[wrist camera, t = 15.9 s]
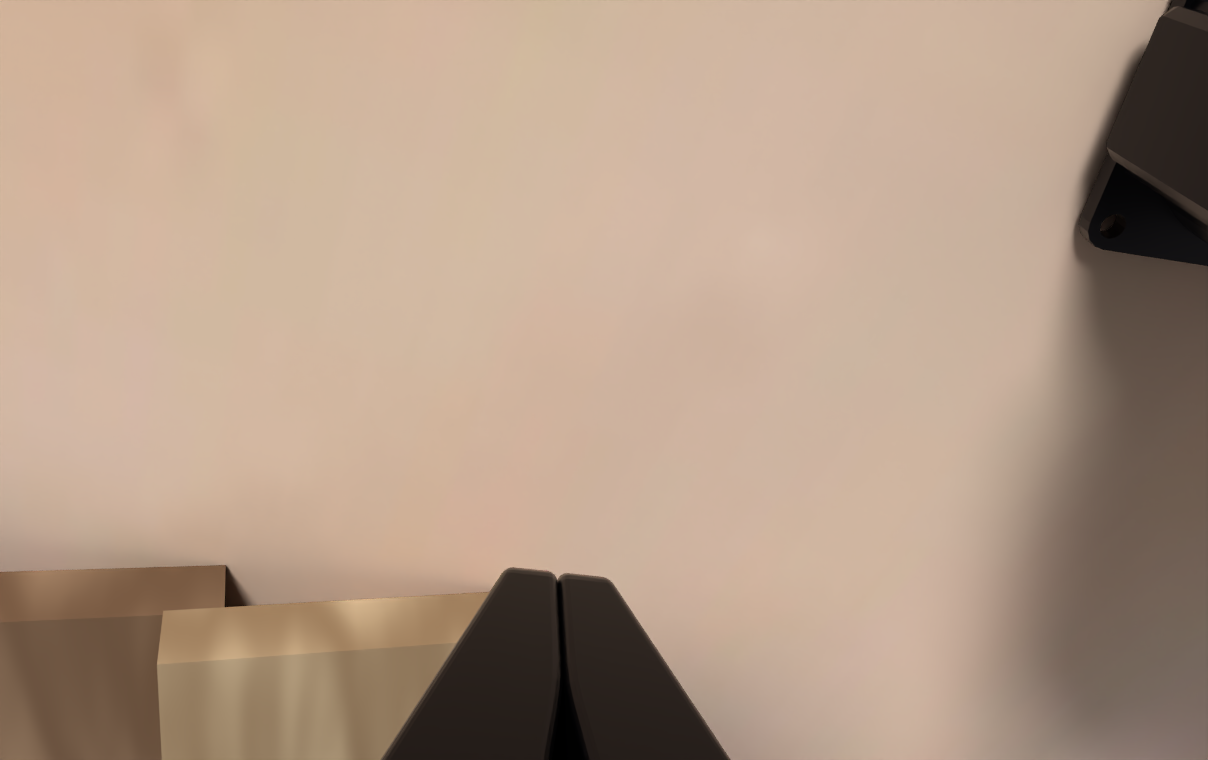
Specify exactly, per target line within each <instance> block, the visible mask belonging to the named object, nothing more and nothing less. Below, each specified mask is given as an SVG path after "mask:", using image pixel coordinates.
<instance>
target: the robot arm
mask: <svg viewBox="0 0 1208 760" xmlns="http://www.w3.org/2000/svg"><path fill="white" fill-rule="evenodd" d="M1106 147H1107V149H1108V153H1107V156H1106V158H1105V160H1104V163H1103V165H1102V167H1101V170H1100V172H1099V174H1098V177H1097V179H1096V181H1095V184H1094V186H1093V188H1092V191H1091V193H1090V195H1089V198H1088V200H1087V202H1086V205H1085V207H1084V209H1083V212H1082V214H1081V217H1080V222H1079V228H1080V232H1081V234H1082V235H1083V236H1084V237H1085V239H1086V240H1088V241H1089V242H1090V243H1091V244H1093V245H1094V246H1095V247H1098V248H1100V249H1103V250H1109V251H1115V252H1122V253H1128V254H1134V255H1141V256H1147V257H1154V258H1160V259H1167V260H1173V261H1179V262H1186V263H1192V264H1199V265H1205V266H1208V0H1173V1H1172V3H1171V5H1170V8H1169V10H1168V12H1166V13H1165V14H1164V15H1163V16H1161V17H1160V18H1159V20H1158V22H1157V24H1156V27H1155V29H1154V31H1153V34H1152V36H1151V38H1150V41H1149V43H1148V46H1147V48H1146V50H1145V53H1144V55H1143V57H1142V60H1141V62H1140V64H1139V67H1138V69H1137V72H1136V74H1135V76H1134V79H1133V81H1132V83H1131V86H1130V88H1129V90H1128V93H1127V95H1126V98H1125V100H1124V102H1123V105H1122V107H1121V109H1120V112H1119V114H1118V116H1117V119H1116V121H1115V124H1114V126H1113V128H1112V131H1111V133H1110V135H1109V138H1108V140H1107V143H1106ZM1116 214H1117V216H1116V221H1115V223H1114V224H1113V225H1112V227H1110V228H1109V229H1107V230H1105V231H1100V229H1101V224H1102V223H1103V221H1104V220H1105V219H1106V218H1107V217H1109V216H1111V215H1116ZM381 760H730V758H729V757H728V755H727V754H726V752H725V751H724V749H723V748H722V746H721V745H720V743H719V742H718V740H717V739H716V737H715V736H714V734H713V733H712V731H711V730H710V728H709V727H708V725H707V724H706V722H705V721H704V719H703V718H702V716H701V715H700V713H699V712H698V710H697V709H696V707H695V706H694V704H693V703H692V701H691V700H690V698H689V697H688V695H687V694H686V692H685V691H684V689H683V688H682V686H681V685H680V683H679V682H678V680H677V679H676V677H675V676H674V674H673V673H672V671H671V670H670V668H669V667H668V665H667V664H666V662H665V661H664V659H663V658H662V656H661V655H660V653H659V652H658V650H657V649H656V647H655V646H654V644H653V643H652V641H651V640H650V638H649V637H648V635H647V634H646V632H645V631H644V629H643V628H642V626H641V625H640V623H639V622H638V620H637V619H636V617H635V616H634V614H633V613H632V611H631V610H630V608H629V607H628V605H627V604H626V602H625V601H624V599H623V598H622V596H621V595H620V593H619V592H618V590H617V589H616V587H615V586H614V584H613V583H612V582H611V581H610V580H608V579H607V578H604V577H598V576H589V575H579V574H570V573H565V574H563V575H561V576H560V577H559V578H558V580H557V579H556V577H555V575H554V574H553V573H552V572H549V571H542V570H533V569H523V568H514V567H513V568H508V569H506V570H505V571H504V572H503V573H502V574H501V575H500V577H499V579H498V580H497V582H496V583H495V585H494V586H493V588H492V589H491V591H490V592H489V594H488V595H487V597H486V599H485V600H484V602H483V603H482V605H481V606H480V608H479V609H478V611H477V612H476V614H475V615H474V617H473V619H472V620H471V622H470V623H469V625H468V626H467V628H466V629H465V631H464V632H463V634H462V635H461V637H460V638H459V640H458V642H457V643H456V645H455V646H454V648H453V649H452V651H451V652H450V654H449V655H448V657H447V658H446V660H445V662H444V663H443V665H442V666H441V668H440V669H439V671H438V672H437V674H436V675H435V677H434V678H433V680H432V682H431V683H430V685H429V686H428V688H427V689H426V691H425V692H424V694H423V695H422V697H421V698H420V700H419V702H418V703H417V705H416V706H415V708H414V709H413V711H412V712H411V714H410V715H409V717H408V718H407V720H406V722H405V723H404V725H403V726H402V728H401V729H400V731H399V732H398V734H397V735H396V737H395V738H394V740H393V742H392V743H391V745H390V746H389V748H388V749H387V751H386V752H385V754H384V755H383V757H382V758H381Z"/></svg>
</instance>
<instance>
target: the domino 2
mask: <svg viewBox="0 0 1208 760" xmlns="http://www.w3.org/2000/svg"><path fill="white" fill-rule="evenodd" d="M488 594H489V592H483V593H465V594H448V595H430V596H413V597H395V598H378V599H360V600H343V601H325V602H308V603H291V604H273V605H256V606H238V607H221V608H203V609H186V610H168V611H163V617H162V626H161V634H160V643H159V651H158V660H157V675H158V694H159V713H160V733H161V752H162V760H381V758H382V757H383V755H384V754H385V752H386V751H387V749H388V748H389V746H390V745H391V743H392V742H393V740H394V738H395V737H396V735H397V734H398V732H399V731H400V729H401V728H402V726H403V725H404V723H405V722H406V720H407V718H408V717H409V715H410V714H411V712H412V711H413V709H414V708H415V706H416V705H417V703H418V702H419V700H420V698H421V697H422V695H423V694H424V692H425V691H426V689H427V688H428V686H429V685H430V683H431V682H432V680H433V678H434V677H435V675H436V674H437V672H438V671H439V669H440V668H441V666H442V665H443V663H444V662H445V660H446V658H447V657H448V655H449V654H450V652H451V651H452V649H453V648H454V646H455V645H456V643H457V642H458V640H459V638H460V637H461V635H462V634H463V632H464V631H465V629H466V628H467V626H468V625H469V623H470V622H471V620H472V619H473V617H474V615H475V614H476V612H477V611H478V609H479V608H480V606H481V605H482V603H483V602H484V600H485V599H486V597H487V595H488Z"/></svg>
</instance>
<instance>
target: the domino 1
mask: <svg viewBox="0 0 1208 760" xmlns="http://www.w3.org/2000/svg"><path fill="white" fill-rule="evenodd" d="M225 572H226V565H218V566H185V567H153V568H120V569H87V570H54V571H21V572H0V760H162V752H161V733H160V713H159V694H158V675H157V660H158V651H159V643H160V634H161V626H162V617H163V611H168V610H186V609H203V608H221V607H225Z"/></svg>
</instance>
